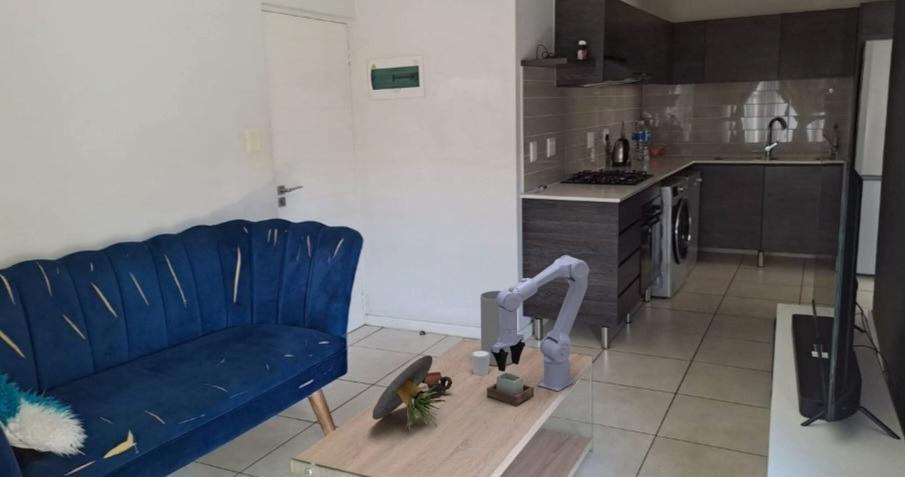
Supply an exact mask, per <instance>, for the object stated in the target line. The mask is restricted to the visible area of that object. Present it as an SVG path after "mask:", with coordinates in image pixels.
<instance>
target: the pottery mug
mask: <svg viewBox="0 0 905 477" xmlns="http://www.w3.org/2000/svg"><path fill="white" fill-rule="evenodd" d="M446 382H447V384H446ZM421 384H424V385H426V386H427V389H428V390H429V389H430V388H432V387H433V386H435V385H437V386H436V387H435V388H434V389H432V390H431V391H430V392H428V393H432V392H437V393H433V394H430V395H428V397H424V398H430V399H432V398H441V397H442V396H443V393H446V392H447V390H449V389H451V388H452V385H453V381H452V378H451V377H450V376H442V374H441V372H440V371H432V372H428V374H427V375H426V377H425V378H424V379H423V381H422V382H421V383H420V385H421ZM428 393H427V394H428Z"/></svg>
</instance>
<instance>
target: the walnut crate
mask: <svg viewBox="0 0 905 477" xmlns="http://www.w3.org/2000/svg"><path fill="white" fill-rule="evenodd" d="M486 397H487V399H490V400H494V401H497V402H500V403H503V404H507V405H510V406H513V407H518V406H521V405H522V404H524V403H525V402H528V401H529V400H530V399H532V398H534V387H533V386H530V385H526V384H523V392H522V393H520V394H518V395H516V396H515V395H511V394H508V393H505V392H502V391H498V390H497V382H496V383H494V384H492V385H491V386H488V387H486Z"/></svg>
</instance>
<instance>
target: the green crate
mask: <svg viewBox="0 0 905 477" xmlns="http://www.w3.org/2000/svg"><path fill="white" fill-rule="evenodd" d="M496 383H497V390H498V391H502V392H505V393H508V394H511V395H515V396H516V395H518V394H520V393H522V392H523V385H524V377H523V376H519V375H516V374H512V373H508V372H503V373H502V374H500V375H498V376H496Z"/></svg>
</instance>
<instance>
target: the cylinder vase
mask: <svg viewBox="0 0 905 477" xmlns="http://www.w3.org/2000/svg"><path fill="white" fill-rule="evenodd" d="M501 291H502V290H490V291H486V292H483V293H481V294H480V345H481V346H480V347H481V348H480V351H487V352H489V353H490V361H489V366H492V367H493V366H494V367H495V366H496V367H498V366H497V362H496V360H495V357H494V356H493V354H492V353H491V350H492V349H493V346H494V345H495V344H496V343H497V342H498V341H497V338H500V333H499V306H498V304H497V303H496V298H497V296H498V294H499V293H500V292H501ZM504 351H505V352H508V353H509V354H508V356H507V359H506V366H508V365H511V364H513V363H512V359H511V350H510V347H509V346H508V347H506V348H504Z"/></svg>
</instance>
